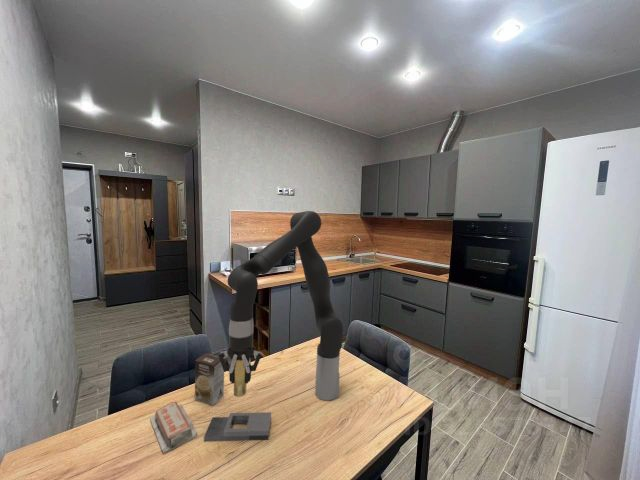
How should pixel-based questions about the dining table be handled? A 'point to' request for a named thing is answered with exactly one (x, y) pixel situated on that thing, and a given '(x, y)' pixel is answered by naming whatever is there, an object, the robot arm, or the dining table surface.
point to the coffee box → (209, 379)
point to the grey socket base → (254, 431)
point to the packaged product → (172, 427)
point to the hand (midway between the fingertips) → (240, 381)
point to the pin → (239, 379)
